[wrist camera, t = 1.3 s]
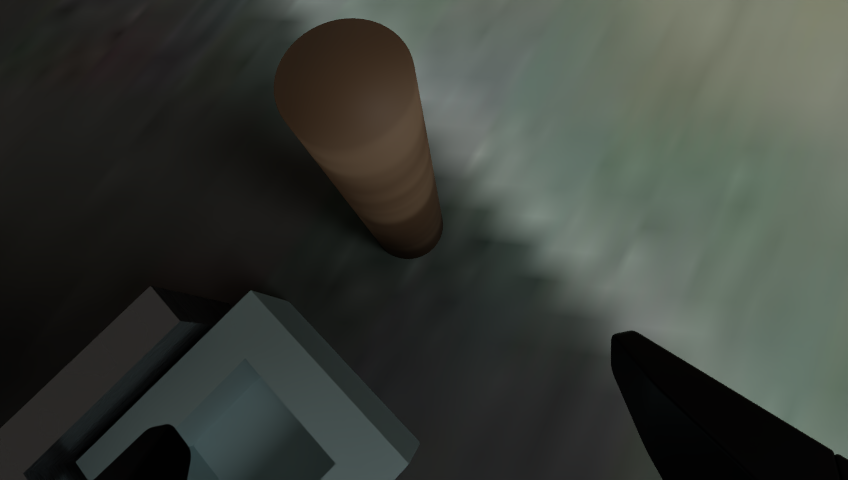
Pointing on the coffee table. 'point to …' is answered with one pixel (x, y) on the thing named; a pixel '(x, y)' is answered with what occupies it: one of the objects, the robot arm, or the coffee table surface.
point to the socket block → (266, 406)
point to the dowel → (365, 128)
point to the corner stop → (103, 384)
